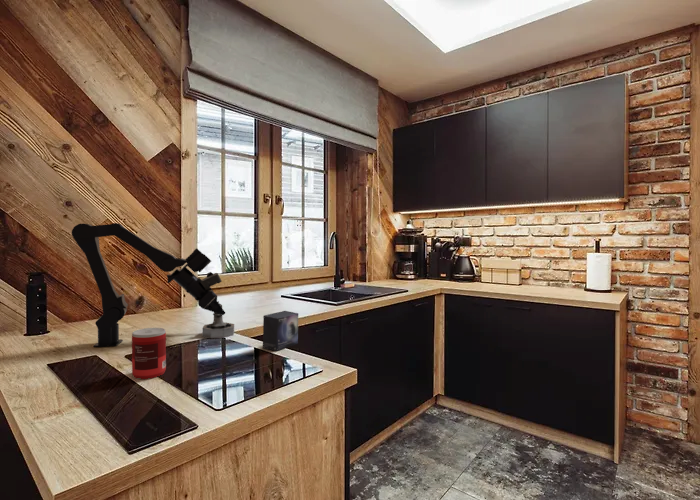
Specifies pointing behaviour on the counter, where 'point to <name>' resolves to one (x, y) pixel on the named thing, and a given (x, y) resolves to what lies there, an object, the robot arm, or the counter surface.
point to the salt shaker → (218, 321)
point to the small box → (280, 330)
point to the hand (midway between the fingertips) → (222, 311)
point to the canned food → (148, 352)
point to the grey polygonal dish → (218, 331)
